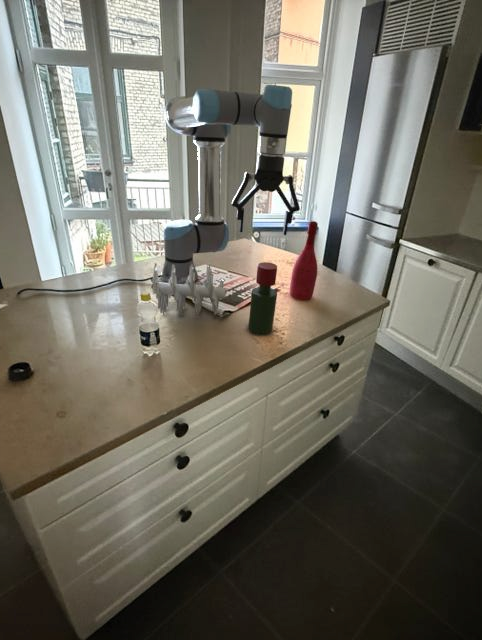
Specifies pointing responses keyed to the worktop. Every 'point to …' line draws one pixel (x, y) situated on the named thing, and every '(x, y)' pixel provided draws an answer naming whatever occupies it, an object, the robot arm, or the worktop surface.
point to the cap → (266, 274)
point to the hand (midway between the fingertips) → (262, 232)
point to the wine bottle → (305, 268)
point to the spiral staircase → (187, 291)
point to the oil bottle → (262, 310)
